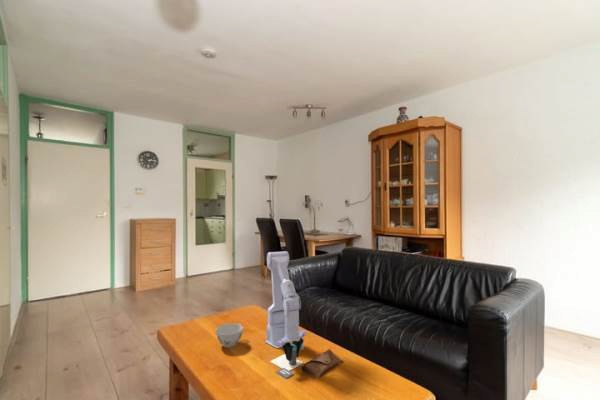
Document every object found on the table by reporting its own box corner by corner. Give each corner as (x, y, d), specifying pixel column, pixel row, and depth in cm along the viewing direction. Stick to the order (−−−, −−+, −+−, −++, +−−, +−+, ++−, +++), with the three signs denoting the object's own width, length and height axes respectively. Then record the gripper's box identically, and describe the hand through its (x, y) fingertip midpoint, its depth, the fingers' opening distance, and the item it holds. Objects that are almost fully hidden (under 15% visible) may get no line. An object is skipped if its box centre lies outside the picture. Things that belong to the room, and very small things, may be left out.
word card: (276, 372, 118) (276, 371, 118) (283, 368, 121) (283, 367, 121) (286, 378, 114) (286, 377, 114) (293, 374, 116) (293, 373, 116)
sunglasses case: (318, 379, 113) (311, 361, 115) (306, 382, 117) (300, 365, 119) (344, 360, 126) (337, 344, 129) (333, 364, 130) (326, 348, 133)
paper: (270, 361, 126) (270, 361, 126) (285, 354, 132) (285, 353, 132) (287, 372, 118) (287, 371, 118) (303, 363, 125) (303, 362, 125)
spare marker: (295, 348, 138) (295, 332, 138) (300, 345, 140) (300, 330, 140) (300, 350, 135) (300, 335, 135) (305, 348, 138) (305, 332, 138)
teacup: (228, 354, 133) (228, 336, 133) (210, 347, 140) (210, 329, 140) (251, 341, 145) (251, 324, 145) (233, 335, 152) (233, 319, 152)
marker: (286, 363, 124) (286, 346, 124) (292, 360, 126) (292, 343, 127) (292, 366, 122) (292, 349, 122) (298, 363, 124) (298, 346, 124)
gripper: (285, 333, 116) (286, 368, 116) (310, 323, 127) (311, 355, 127) (274, 328, 121) (274, 362, 121) (299, 318, 132) (299, 349, 132)
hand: (292, 358), depth 124 cm, fingers open, 4 cm apart
